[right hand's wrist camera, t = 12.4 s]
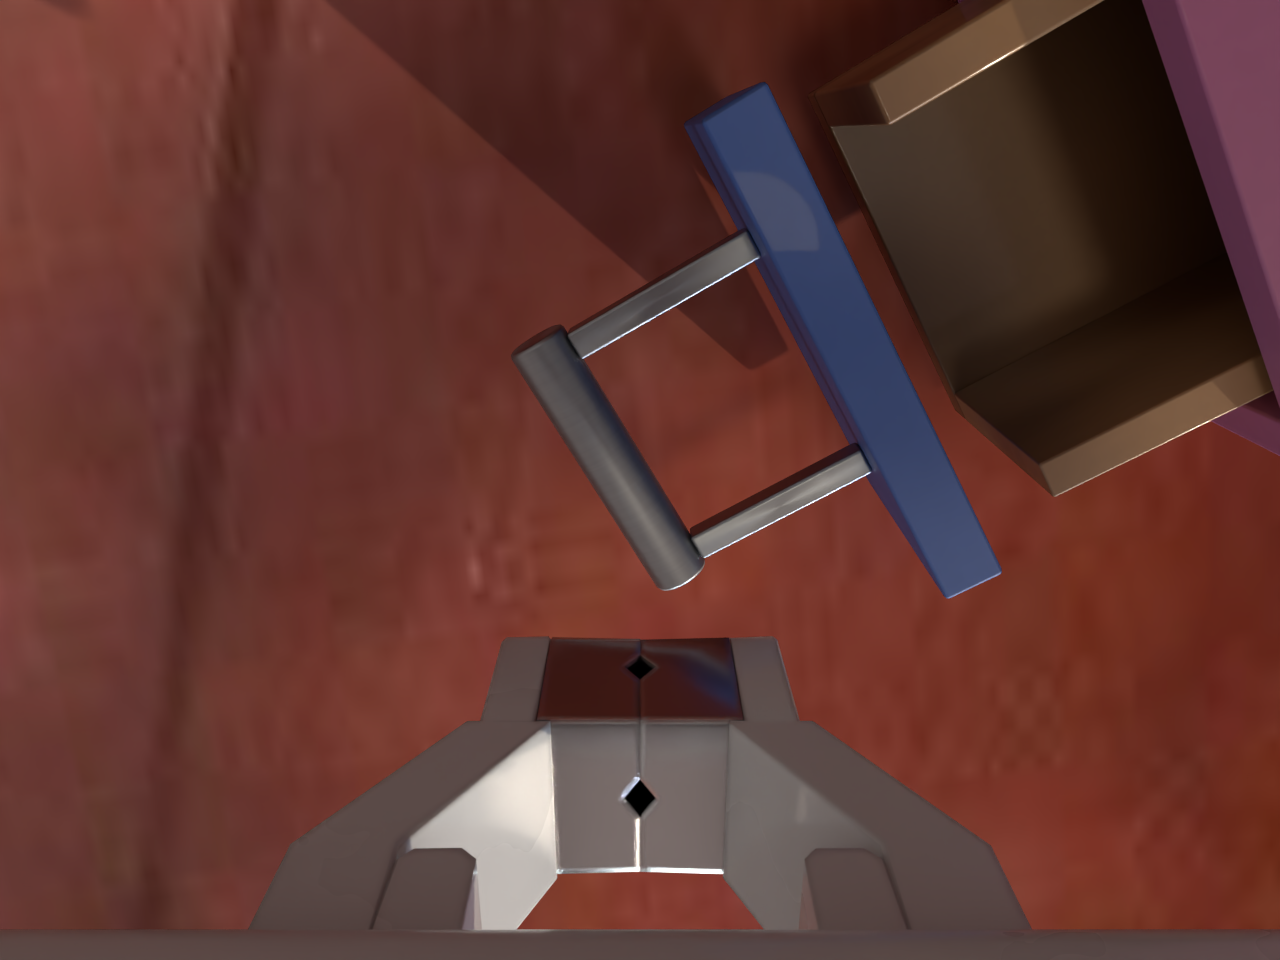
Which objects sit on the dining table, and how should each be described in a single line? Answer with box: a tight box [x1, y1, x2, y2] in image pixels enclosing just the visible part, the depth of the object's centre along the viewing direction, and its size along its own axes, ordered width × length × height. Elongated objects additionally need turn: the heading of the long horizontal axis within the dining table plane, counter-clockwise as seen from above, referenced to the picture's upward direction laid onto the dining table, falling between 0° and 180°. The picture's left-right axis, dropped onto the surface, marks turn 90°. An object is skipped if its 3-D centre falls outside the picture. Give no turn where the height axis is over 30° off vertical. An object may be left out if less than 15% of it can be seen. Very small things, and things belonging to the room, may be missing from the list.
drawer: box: [511, 0, 1273, 598], centre depth 18 cm, size 23×10×6 cm, turn 120°
